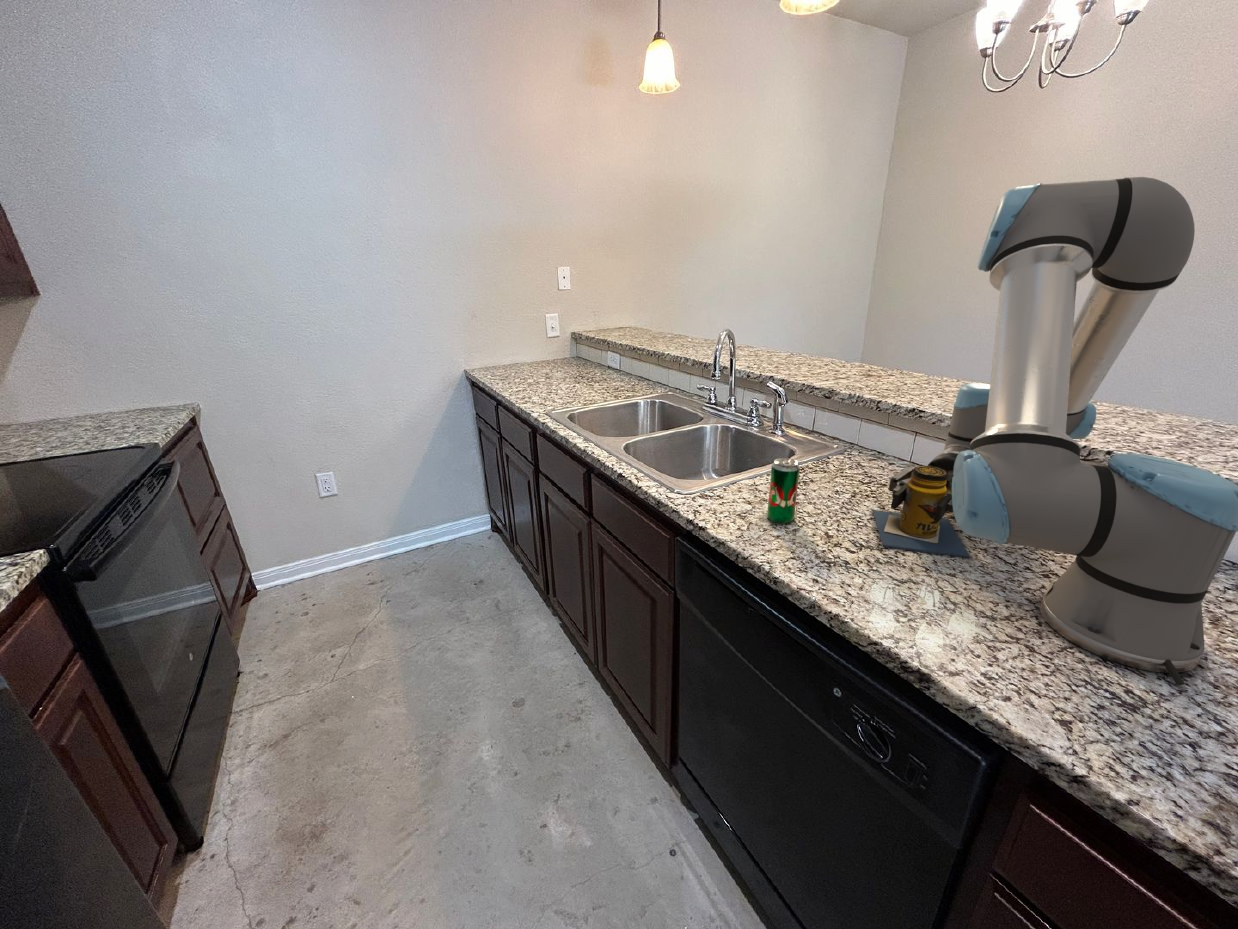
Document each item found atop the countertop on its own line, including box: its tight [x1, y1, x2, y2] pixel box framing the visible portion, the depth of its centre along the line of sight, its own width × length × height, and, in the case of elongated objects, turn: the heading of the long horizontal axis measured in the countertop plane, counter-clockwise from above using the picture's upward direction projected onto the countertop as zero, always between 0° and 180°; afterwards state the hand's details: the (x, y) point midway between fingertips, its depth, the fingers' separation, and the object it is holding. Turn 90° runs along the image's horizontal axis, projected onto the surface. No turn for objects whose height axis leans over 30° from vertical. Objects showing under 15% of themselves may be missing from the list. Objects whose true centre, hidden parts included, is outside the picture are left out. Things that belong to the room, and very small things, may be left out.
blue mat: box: [872, 510, 971, 559], centre depth 91 cm, size 14×13×1 cm
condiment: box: [884, 465, 948, 543], centre depth 89 cm, size 7×8×12 cm
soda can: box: [766, 457, 801, 525], centre depth 95 cm, size 5×5×12 cm
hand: (915, 507), depth 85 cm, fingers closed on condiment, 6 cm apart
